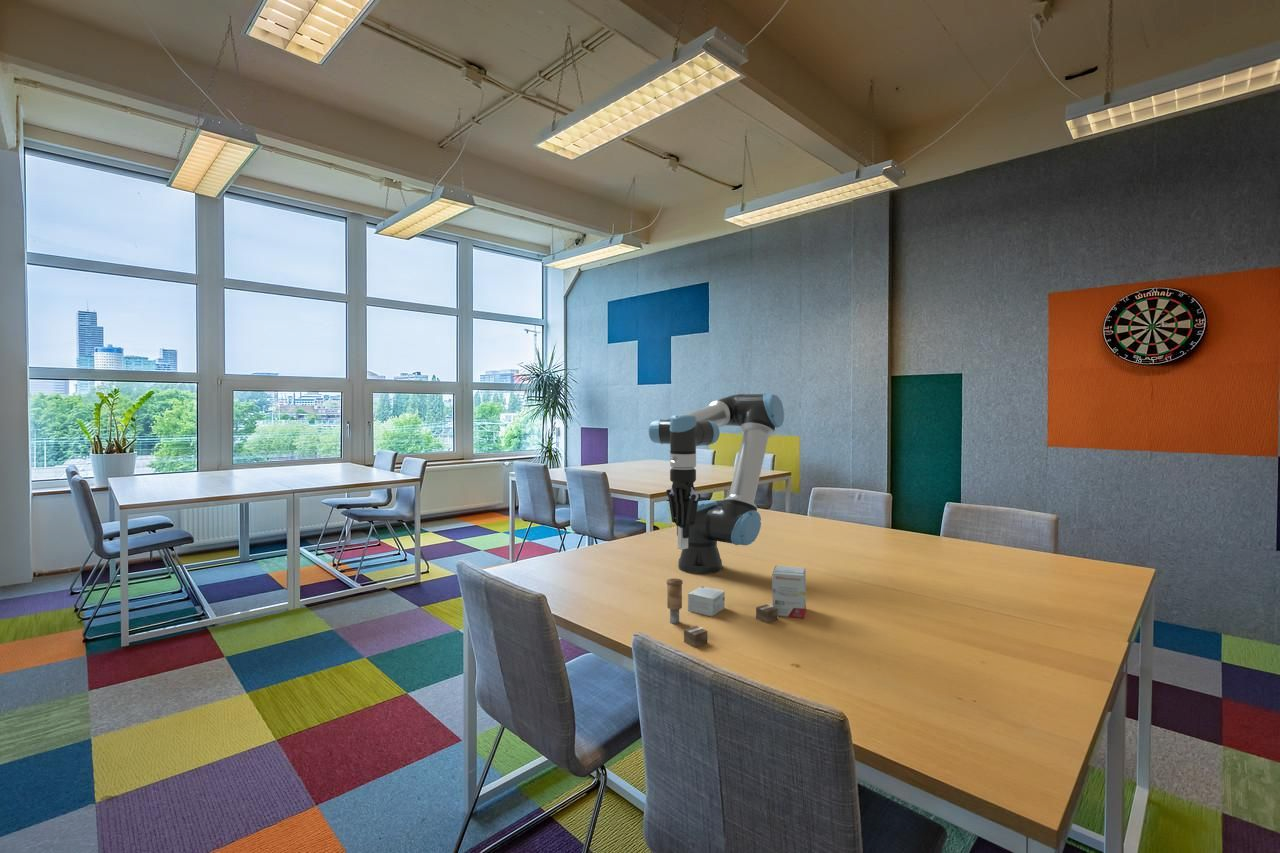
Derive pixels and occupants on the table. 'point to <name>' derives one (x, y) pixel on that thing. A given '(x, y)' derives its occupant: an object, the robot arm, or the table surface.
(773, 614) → the joist marker
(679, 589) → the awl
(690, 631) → the joist marker
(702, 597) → the small box
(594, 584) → the table surface
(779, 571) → the ink box
